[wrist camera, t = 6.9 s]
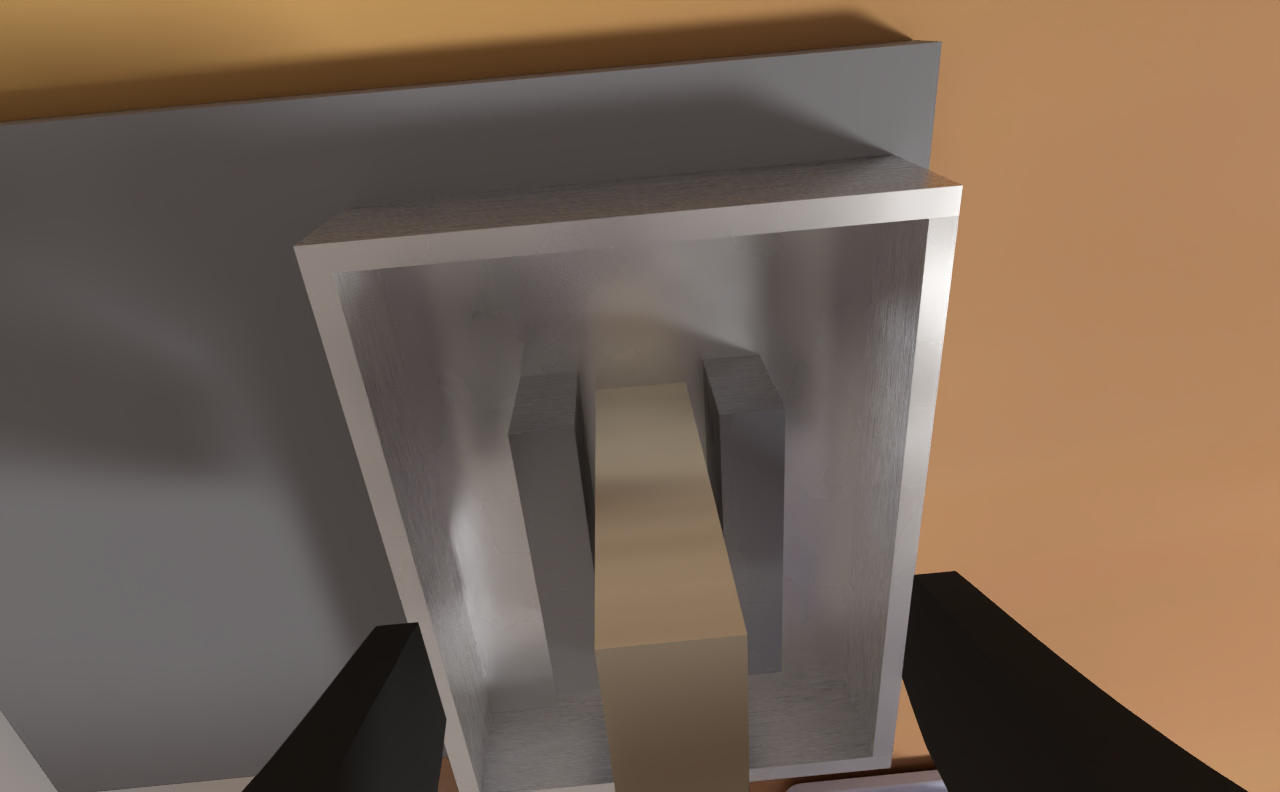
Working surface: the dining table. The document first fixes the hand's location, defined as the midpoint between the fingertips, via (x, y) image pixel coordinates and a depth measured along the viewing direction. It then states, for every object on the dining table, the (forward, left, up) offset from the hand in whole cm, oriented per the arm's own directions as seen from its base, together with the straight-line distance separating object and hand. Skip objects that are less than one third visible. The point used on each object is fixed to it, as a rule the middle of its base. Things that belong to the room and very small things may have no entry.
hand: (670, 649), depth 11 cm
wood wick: (0, 0, -4) cm, 4 cm away
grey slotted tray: (0, 0, -4) cm, 4 cm away
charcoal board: (0, +5, -5) cm, 7 cm away
